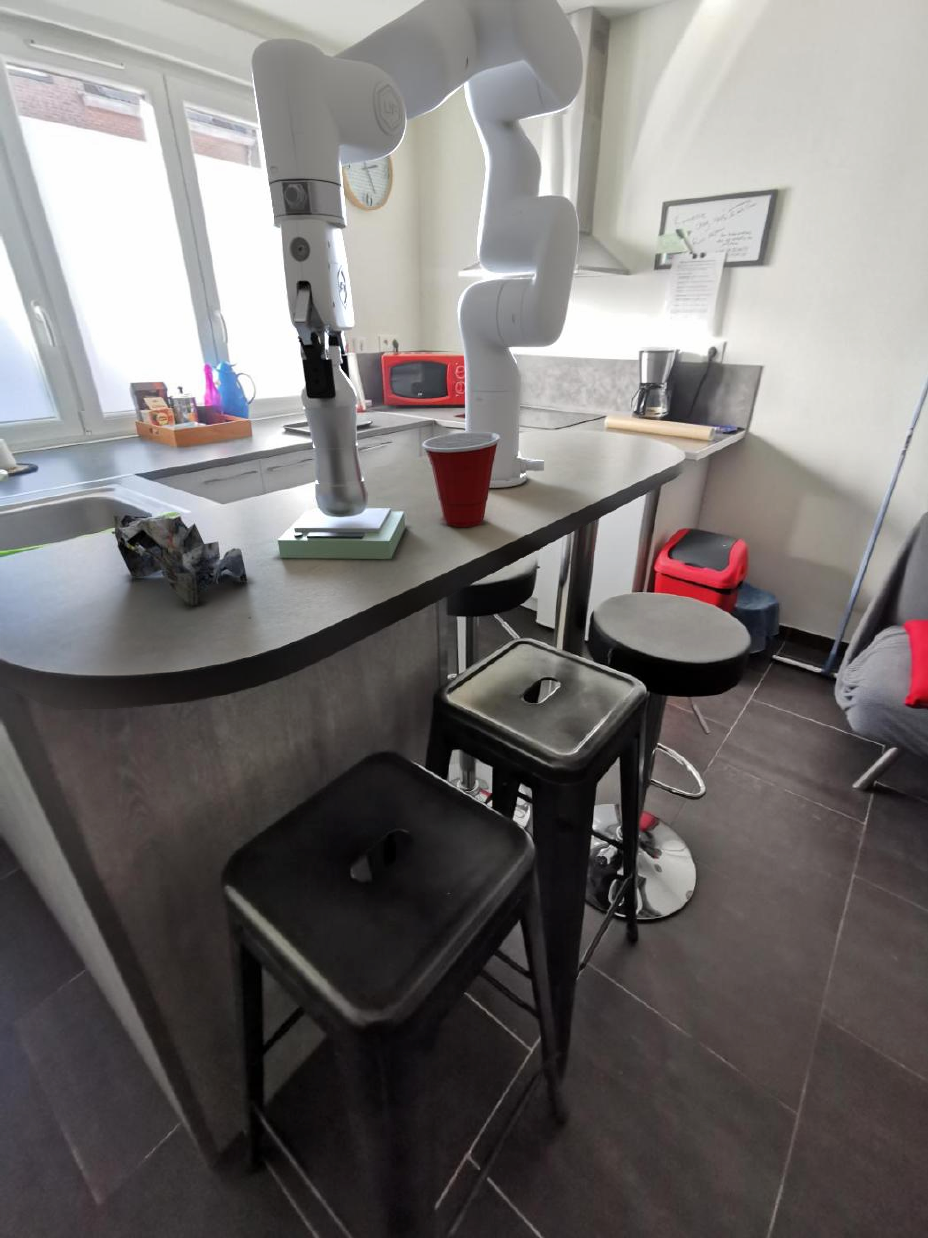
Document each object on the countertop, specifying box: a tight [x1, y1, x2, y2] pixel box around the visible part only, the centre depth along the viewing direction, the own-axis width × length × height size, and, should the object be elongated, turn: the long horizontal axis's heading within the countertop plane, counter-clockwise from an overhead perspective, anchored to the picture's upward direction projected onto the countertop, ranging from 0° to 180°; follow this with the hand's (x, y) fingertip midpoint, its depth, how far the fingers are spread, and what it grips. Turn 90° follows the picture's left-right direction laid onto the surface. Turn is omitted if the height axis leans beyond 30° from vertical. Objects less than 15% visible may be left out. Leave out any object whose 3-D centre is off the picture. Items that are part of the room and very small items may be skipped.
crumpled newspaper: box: [111, 514, 248, 607], centre depth 63 cm, size 12×11×15 cm
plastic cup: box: [421, 431, 500, 528], centre depth 80 cm, size 11×11×12 cm
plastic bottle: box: [300, 346, 369, 517], centre depth 69 cm, size 6×7×20 cm
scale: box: [277, 507, 406, 560], centre depth 75 cm, size 14×12×3 cm
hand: (329, 392), depth 67 cm, fingers closed on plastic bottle, 6 cm apart
